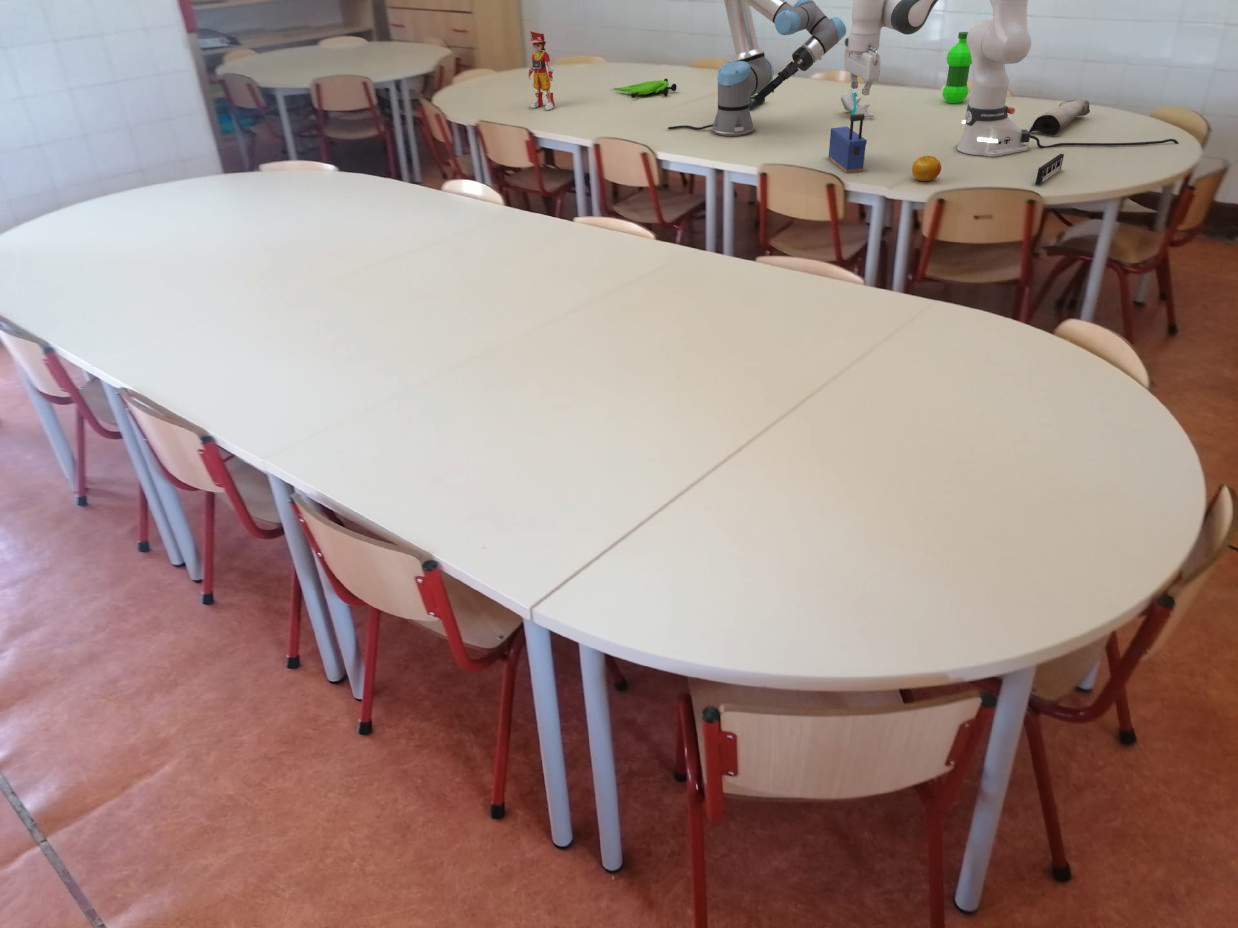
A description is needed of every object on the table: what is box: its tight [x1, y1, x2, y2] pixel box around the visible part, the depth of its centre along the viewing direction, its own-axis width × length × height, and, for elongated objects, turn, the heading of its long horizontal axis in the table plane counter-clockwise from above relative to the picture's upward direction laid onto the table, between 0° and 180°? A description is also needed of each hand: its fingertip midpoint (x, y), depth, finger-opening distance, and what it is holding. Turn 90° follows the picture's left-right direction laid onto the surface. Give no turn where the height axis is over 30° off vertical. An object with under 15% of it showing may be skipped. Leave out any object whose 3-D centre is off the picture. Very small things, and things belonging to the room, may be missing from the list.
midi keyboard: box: [1035, 153, 1065, 186], centre depth 273 cm, size 18×1×5 cm, turn 138°
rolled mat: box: [1028, 99, 1091, 137], centre depth 319 cm, size 30×9×10 cm
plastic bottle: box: [942, 31, 972, 104], centre depth 348 cm, size 10×10×25 cm
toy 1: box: [527, 31, 556, 111], centre depth 374 cm, size 12×9×30 cm
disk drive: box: [749, 94, 766, 111], centre depth 366 cm, size 10×3×15 cm
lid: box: [830, 114, 868, 145], centre depth 289 cm, size 17×6×9 cm, turn 9°
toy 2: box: [612, 78, 677, 99], centre depth 396 cm, size 28×5×30 cm
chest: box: [828, 131, 867, 174], centre depth 294 cm, size 17×6×9 cm, turn 9°
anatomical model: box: [840, 88, 875, 118], centre depth 344 cm, size 15×10×10 cm
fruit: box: [911, 155, 942, 182], centre depth 277 cm, size 8×8×8 cm
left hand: (760, 96), depth 313 cm, fingers open, 13 cm apart
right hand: (859, 91), depth 278 cm, fingers open, 8 cm apart
